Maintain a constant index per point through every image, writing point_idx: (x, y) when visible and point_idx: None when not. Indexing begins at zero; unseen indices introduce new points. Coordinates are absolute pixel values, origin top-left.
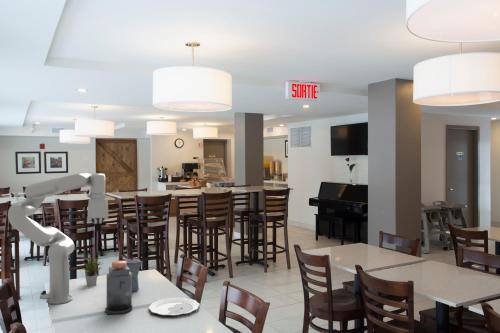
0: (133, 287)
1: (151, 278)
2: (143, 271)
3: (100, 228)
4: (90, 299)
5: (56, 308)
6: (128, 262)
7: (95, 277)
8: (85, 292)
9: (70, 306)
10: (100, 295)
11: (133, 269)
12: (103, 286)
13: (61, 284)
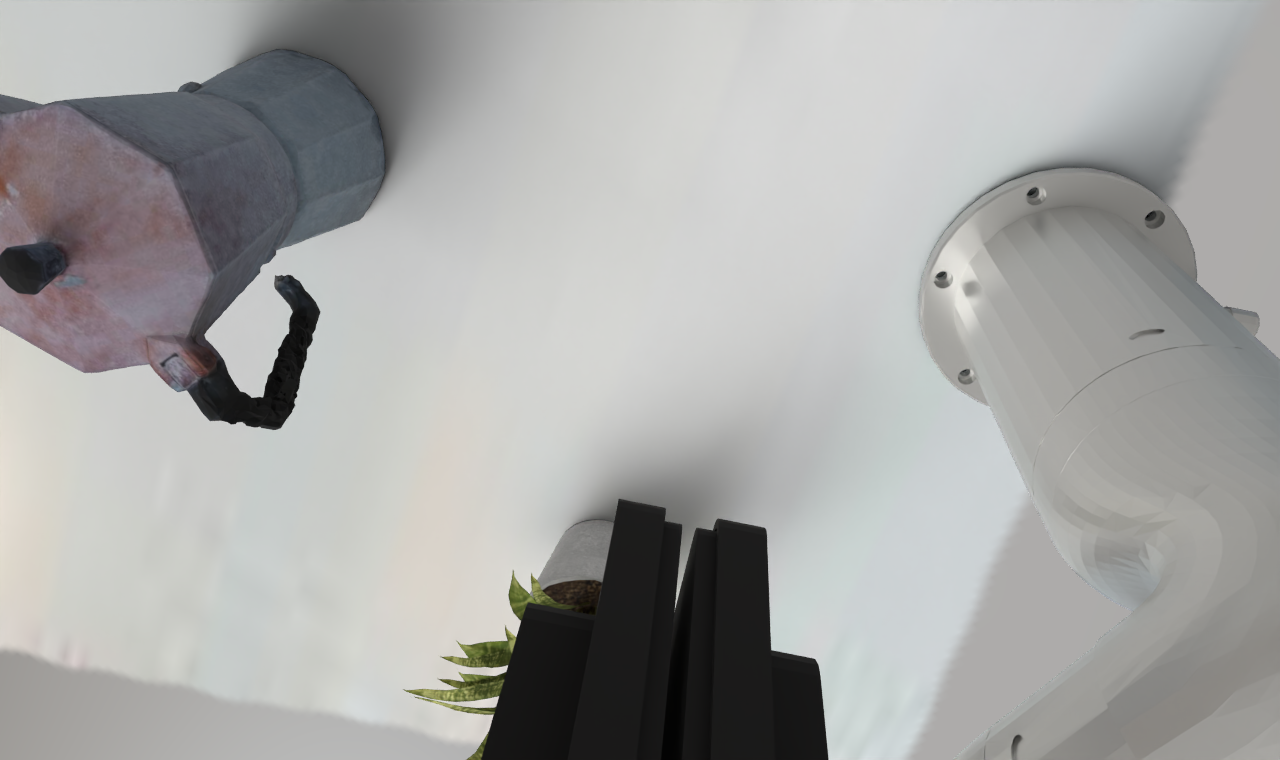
0: (263, 63)
1: (8, 400)
2: (50, 639)
3: (545, 611)
4: (780, 119)
5: (1205, 48)
6: (149, 175)
7: (562, 566)
8: (732, 380)
9: (1058, 15)
10: (640, 187)
11: (137, 97)
12: (515, 449)
13: (1151, 277)
